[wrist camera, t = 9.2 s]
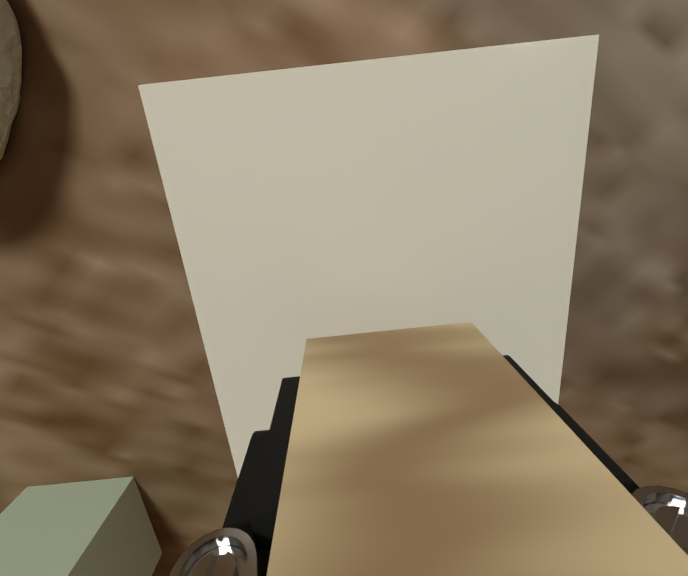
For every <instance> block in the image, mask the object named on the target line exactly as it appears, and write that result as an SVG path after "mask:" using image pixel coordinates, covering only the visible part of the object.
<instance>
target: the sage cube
mask: <svg viewBox="0 0 688 576" xmlns="http://www.w3.org/2000/svg"><path fill="white" fill-rule="evenodd" d="M161 555H162V551H161V548H160V546H159V543H158V540H157V538H156V535H155V532H154V530H153V527H152V524H151V522H150V519H149V516H148V514H147V511H146V508H145V506H144V503H143V500H142V498H141V495H140V492H139V490H138V487H137V484H136V482H135V479H134V477H125V478H115V479H105V480H95V481H84V482H74V483H64V484H54V485H43V486H33V487H27V488H26V489H25V490H24V491H23V492H22V493H21V494H20V495H19V496H18V497H17V498H16V499H15V500H14V501H13V502H12V503H11V504H10V505H9V506H8V507H7V508H6V509H5V510H4V511H3V512H2V513H1V514H0V576H152V574H153V572H154V570H155V568H156V566H157V563H158V561H159V559H160V557H161Z"/></svg>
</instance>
